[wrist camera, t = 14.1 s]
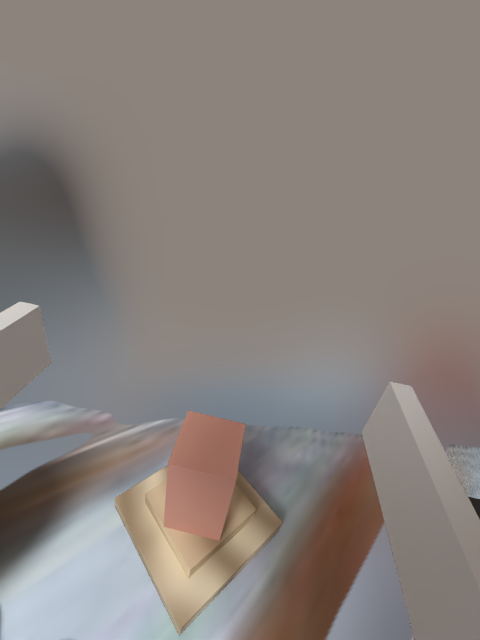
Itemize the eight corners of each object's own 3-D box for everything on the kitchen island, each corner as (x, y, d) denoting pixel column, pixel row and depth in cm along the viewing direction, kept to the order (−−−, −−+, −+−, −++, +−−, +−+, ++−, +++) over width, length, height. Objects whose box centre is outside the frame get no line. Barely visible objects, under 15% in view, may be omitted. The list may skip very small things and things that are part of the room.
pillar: (229, 484, 36) (245, 423, 31) (219, 540, 31) (236, 479, 25) (181, 473, 36) (188, 410, 31) (163, 526, 31) (167, 463, 26)
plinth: (209, 447, 45) (212, 429, 43) (278, 530, 36) (286, 513, 34) (115, 507, 36) (113, 488, 34) (179, 635, 28) (182, 621, 26)
